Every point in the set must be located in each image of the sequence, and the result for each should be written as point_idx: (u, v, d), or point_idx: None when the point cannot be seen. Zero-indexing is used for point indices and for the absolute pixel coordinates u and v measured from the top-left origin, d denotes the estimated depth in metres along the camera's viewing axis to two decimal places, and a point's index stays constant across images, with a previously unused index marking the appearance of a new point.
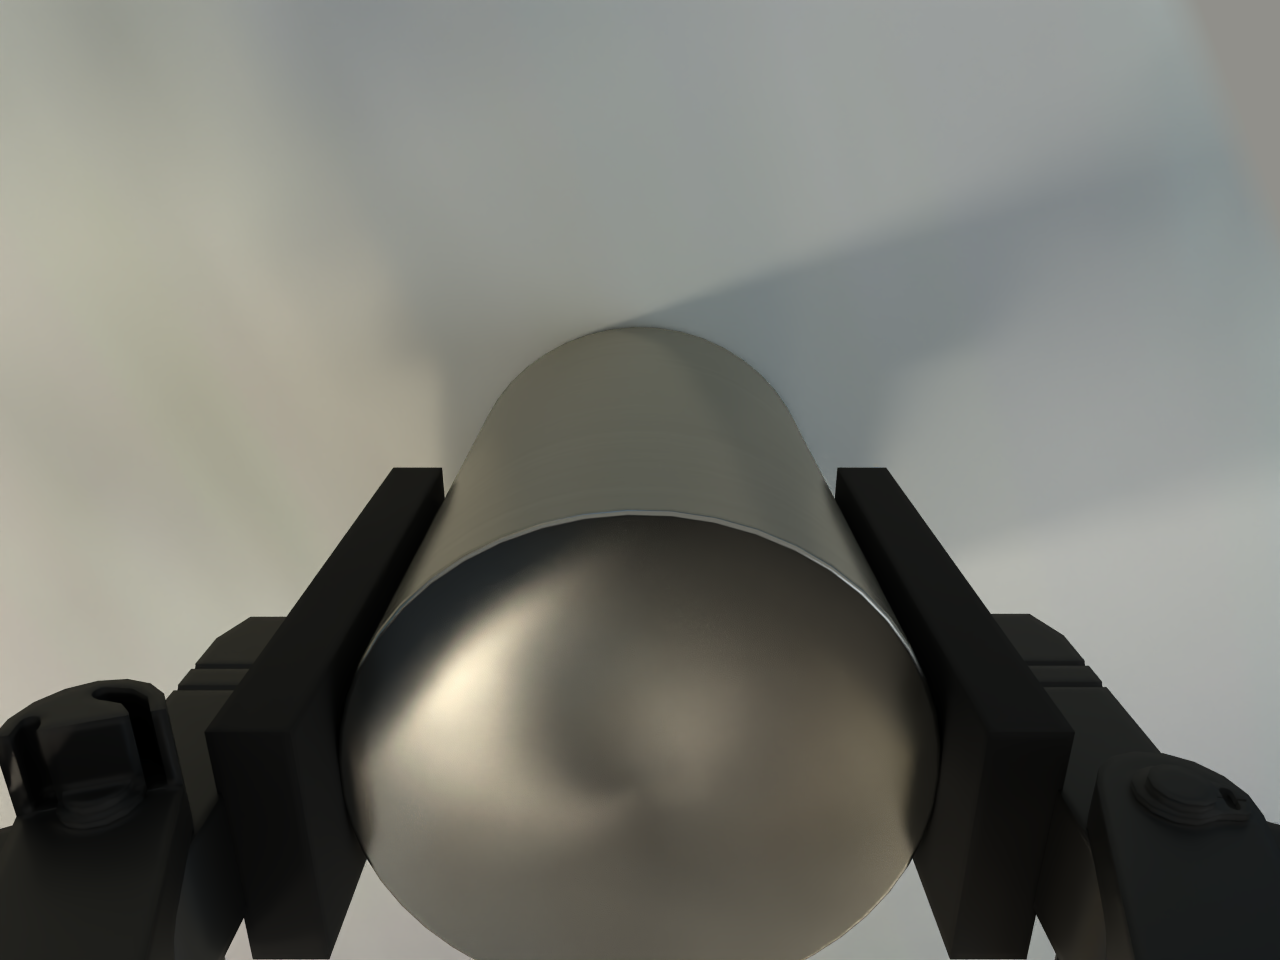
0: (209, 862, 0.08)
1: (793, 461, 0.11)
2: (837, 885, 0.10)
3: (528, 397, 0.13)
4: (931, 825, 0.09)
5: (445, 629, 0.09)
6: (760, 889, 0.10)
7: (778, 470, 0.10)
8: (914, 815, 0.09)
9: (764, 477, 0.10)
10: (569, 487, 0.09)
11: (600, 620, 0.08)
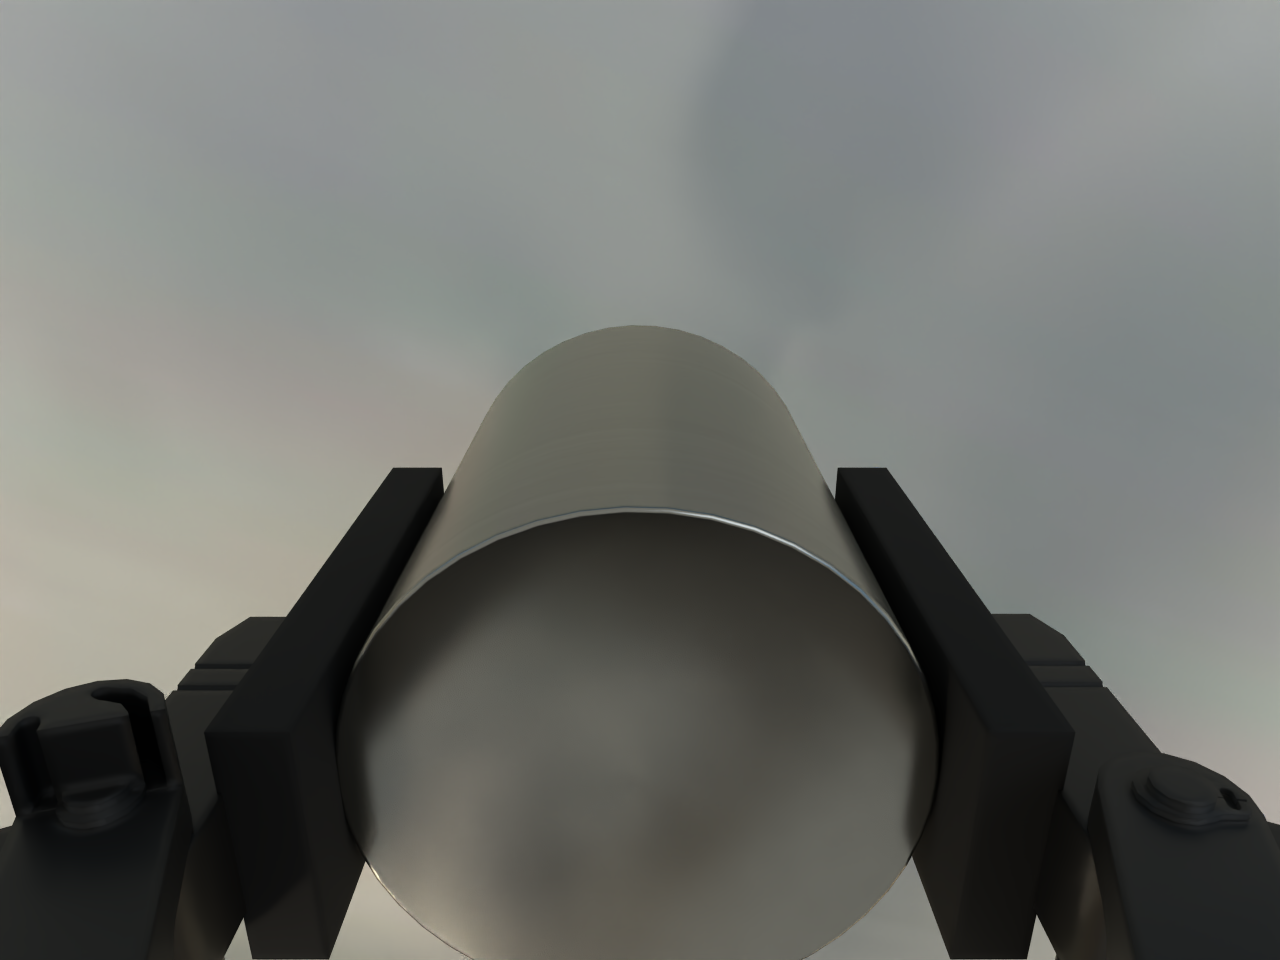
0: (209, 861, 0.08)
1: (791, 459, 0.11)
2: (836, 884, 0.10)
3: (526, 395, 0.13)
4: (932, 825, 0.09)
5: (441, 627, 0.08)
6: (758, 887, 0.10)
7: (776, 468, 0.10)
8: (913, 814, 0.09)
9: (761, 475, 0.10)
10: (565, 484, 0.09)
11: (598, 617, 0.08)
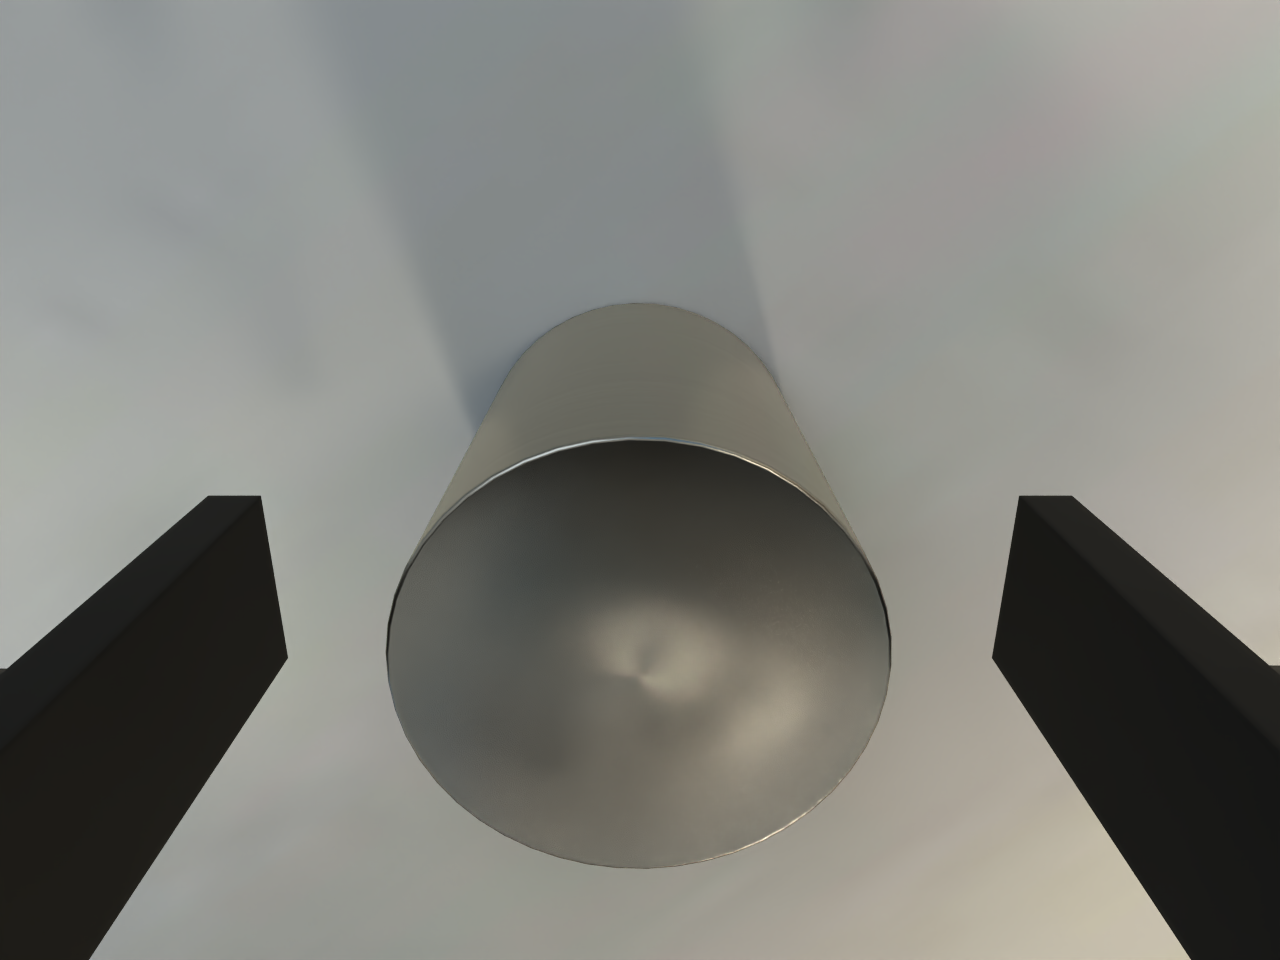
0: None
1: (771, 411, 0.13)
2: (806, 764, 0.11)
3: (541, 361, 0.15)
4: (1225, 914, 0.08)
5: (477, 537, 0.10)
6: (740, 767, 0.11)
7: (757, 415, 0.12)
8: (870, 701, 0.11)
9: (744, 418, 0.11)
10: (580, 421, 0.11)
11: (607, 529, 0.10)
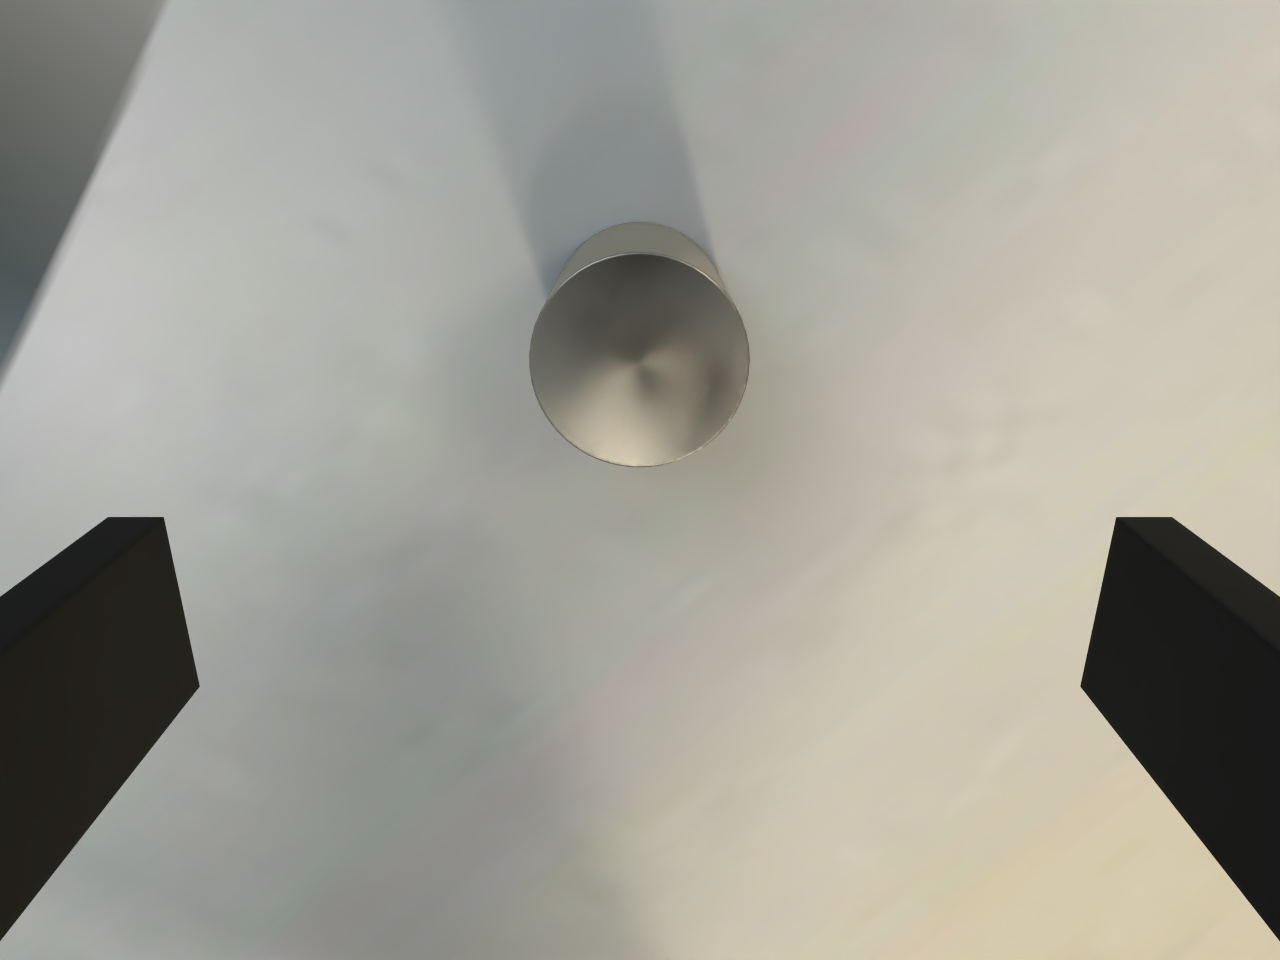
0: None
1: (702, 261, 0.27)
2: (714, 410, 0.26)
3: (589, 245, 0.29)
4: None
5: (571, 298, 0.24)
6: (685, 412, 0.26)
7: (693, 257, 0.26)
8: (741, 378, 0.25)
9: (686, 255, 0.26)
10: (614, 251, 0.25)
11: (626, 294, 0.24)
